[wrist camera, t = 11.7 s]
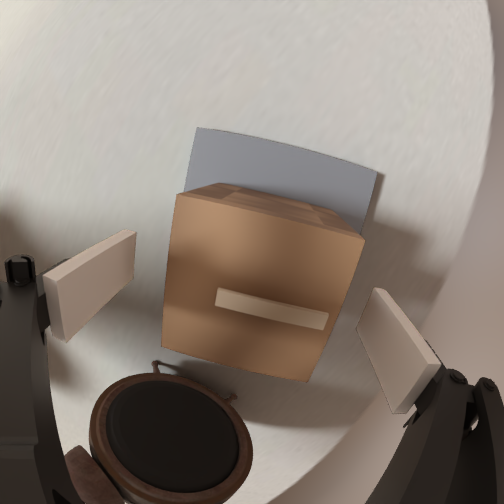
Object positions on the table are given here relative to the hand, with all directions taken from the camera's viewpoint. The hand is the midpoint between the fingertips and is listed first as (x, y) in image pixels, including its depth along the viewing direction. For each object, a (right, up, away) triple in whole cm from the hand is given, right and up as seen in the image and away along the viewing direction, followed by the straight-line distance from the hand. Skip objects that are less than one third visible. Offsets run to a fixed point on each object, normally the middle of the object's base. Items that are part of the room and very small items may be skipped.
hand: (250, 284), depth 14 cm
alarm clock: (-7, -13, +12) cm, 19 cm away
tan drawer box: (+1, +2, +6) cm, 6 cm away
